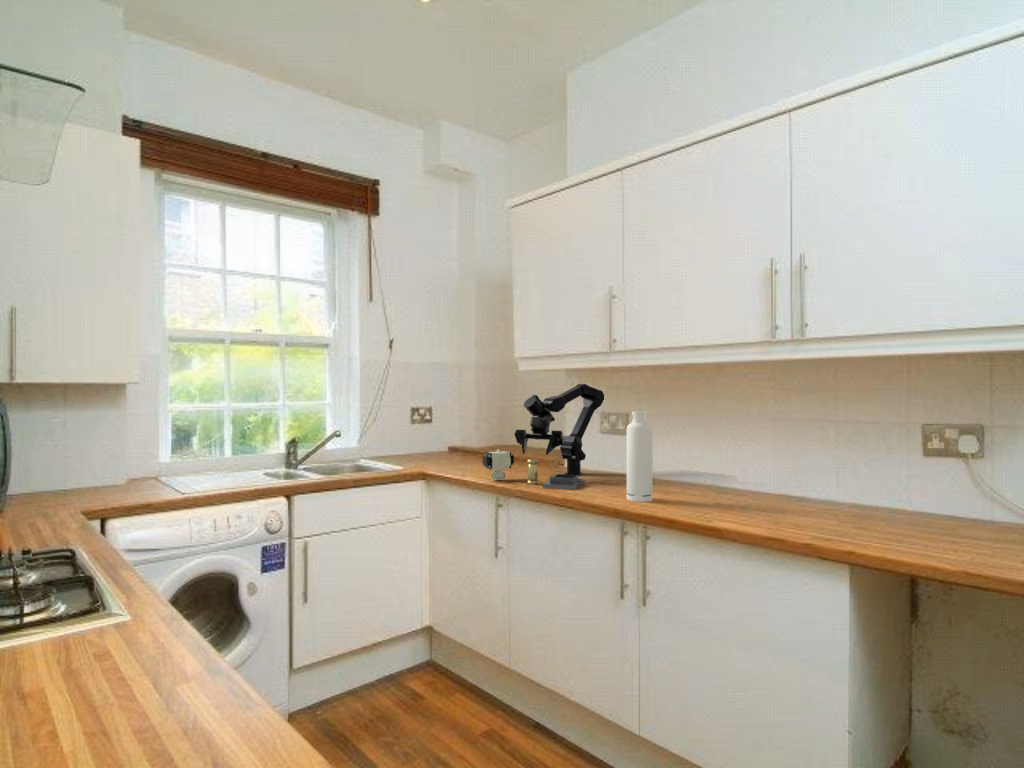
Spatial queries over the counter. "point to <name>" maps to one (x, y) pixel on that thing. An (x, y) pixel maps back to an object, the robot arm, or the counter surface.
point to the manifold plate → (564, 482)
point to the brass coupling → (532, 471)
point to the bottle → (639, 459)
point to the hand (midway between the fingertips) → (534, 453)
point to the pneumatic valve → (498, 463)
